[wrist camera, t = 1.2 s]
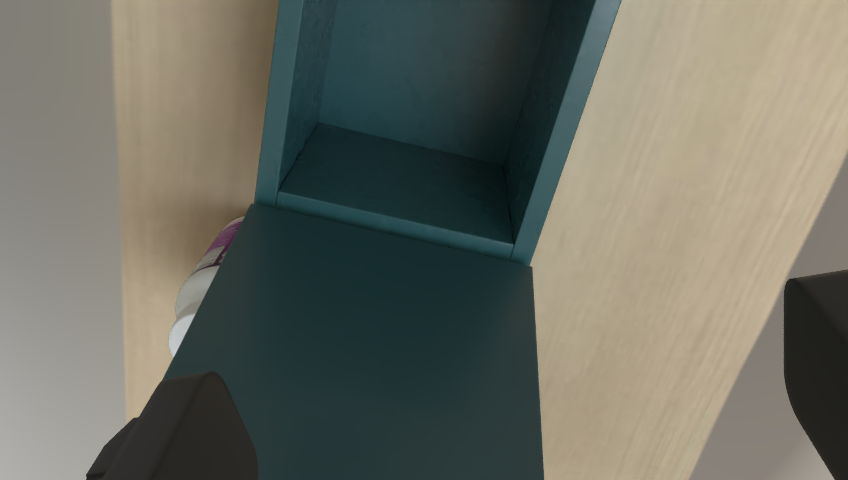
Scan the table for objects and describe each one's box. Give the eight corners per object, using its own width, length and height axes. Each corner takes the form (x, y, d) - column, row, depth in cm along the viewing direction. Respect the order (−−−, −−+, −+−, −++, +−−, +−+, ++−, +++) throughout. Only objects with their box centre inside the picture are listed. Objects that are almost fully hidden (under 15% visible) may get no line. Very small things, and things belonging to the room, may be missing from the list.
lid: (55, 589, 16) (59, 605, 16) (556, 683, 17) (545, 696, 17) (250, 202, 28) (249, 218, 29) (532, 266, 29) (527, 280, 29)
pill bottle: (326, 250, 41) (289, 349, 32) (273, 305, 43) (225, 412, 34) (251, 192, 39) (192, 280, 31) (200, 252, 41) (131, 350, 33)
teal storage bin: (349, -185, 31) (304, -209, 22) (606, -118, 31) (662, -115, 23) (302, 128, 38) (253, 205, 29) (513, 177, 38) (528, 267, 30)
